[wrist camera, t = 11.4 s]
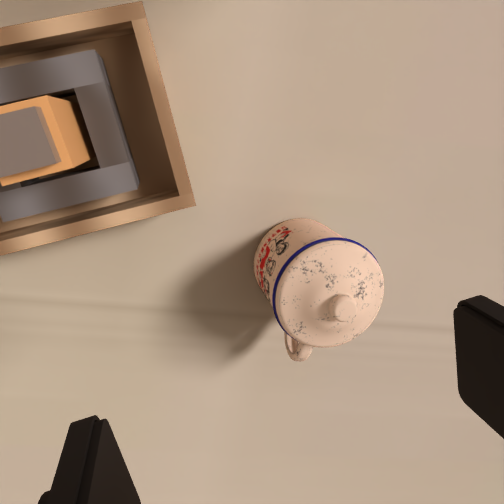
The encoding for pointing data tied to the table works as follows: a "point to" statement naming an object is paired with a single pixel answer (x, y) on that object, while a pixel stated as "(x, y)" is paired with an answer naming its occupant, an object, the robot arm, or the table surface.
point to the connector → (41, 138)
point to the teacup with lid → (317, 285)
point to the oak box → (93, 126)
